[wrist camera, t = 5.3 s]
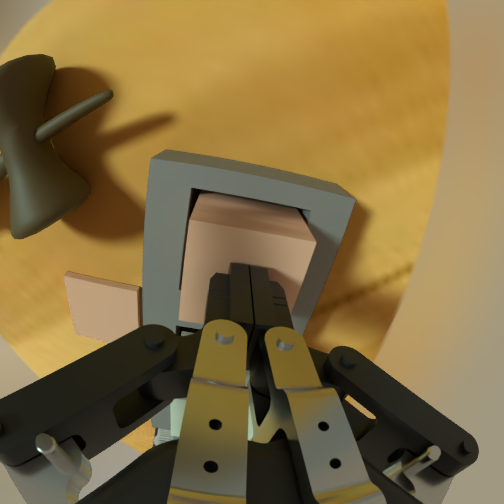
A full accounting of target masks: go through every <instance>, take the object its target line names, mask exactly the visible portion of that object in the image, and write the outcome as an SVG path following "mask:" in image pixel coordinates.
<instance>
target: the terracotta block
mask: <svg viewBox="0 0 504 504" xmlns="http://www.w3.org/2000/svg"><path fill="white" fill-rule="evenodd" d="M316 243H317V242H316V240H315V239H314V237H313V235H312V233H311V232H310V230H309V228H308V227H307V225H306V223H305V221H304V220H303V218H302V216H301V215H300V213H299V211H298V210H297V208H296V207H292V206H288V205H283V204H278V203H273V202H268V201H263V200H258V199H253V198H248V197H242V196H237V195H231V194H226V193H220V192H214V191H209V190H203V189H202V190H201V192H200V195H199V197H198V200H197V202H196V204H195V207H194V209H193V212H192V214H191V217H190V219H189V226H188V234H187V242H186V250H185V259H184V267H183V277H182V287H181V297H180V309H179V320H181V321H187V322H193V323H199V324H204V315H205V307H206V301H207V295H208V288H209V282H210V278H211V277H212V276H213V275H214V274H215V273H216V272H217V273H224V274H228V270H229V266H230V263H231V262H232V263H238V264H244V265H248V266H249V265H251V266H257V267H263V268H267V270H268V276H269V281H276V282H278V283H279V284H280V285H281V286H282V288H283V289H284V291H285V295H286V300H287V303H288V307H289V311H290V314H291V312H292V309H293V307H294V304H295V301H296V299H297V296H298V293H299V291H300V288H301V285H302V283H303V280H304V277H305V274H306V271H307V269H308V266H309V263H310V260H311V257H312V255H313V252H314V249H315V246H316Z"/></svg>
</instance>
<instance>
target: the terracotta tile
mask: <svg viewBox="0 0 504 504" xmlns="http://www.w3.org/2000/svg"><path fill="white" fill-rule="evenodd" d="M64 280H65V286H66V292H67V297H68V302H69V307H70V311H71V316H72V320H73V325H74V329H75V333H76V334H78V335H82V336H85V337H89V338H92V339H96V340H100V341H104V342H108V343H111V342H113V341H115V340H116V339H118V338H120V337H122V336H124V335H126V334H128V333H130V332H132V331H133V330H135V329H137V328H139V327H141V326H140V287H138V286H133V285H128V284H123V283H118V282H113V281H109V280H104V279H99V278H95V277H90V276H86V275H81V274H77V273H73V272H68V271H67V272H66V273H65V275H64Z"/></svg>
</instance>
